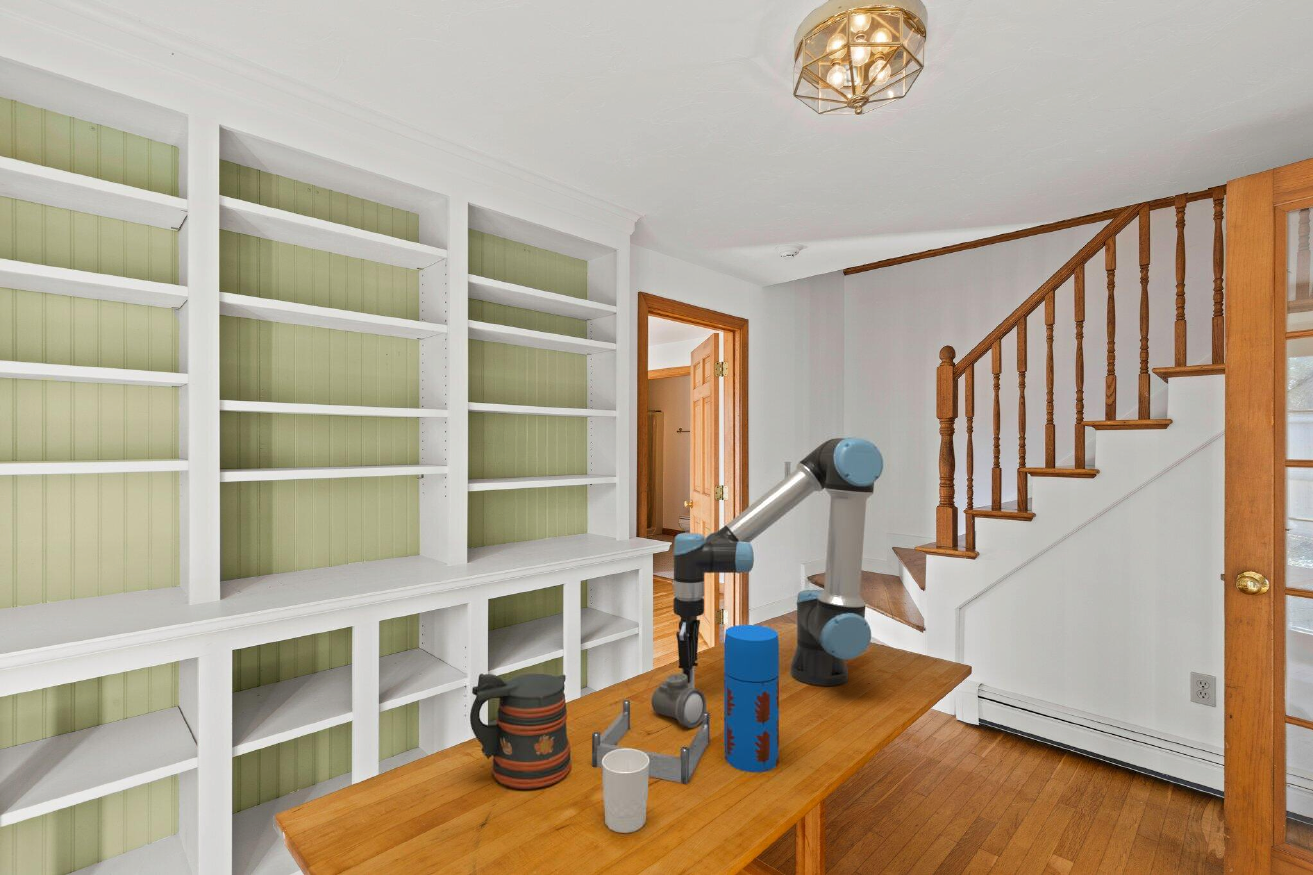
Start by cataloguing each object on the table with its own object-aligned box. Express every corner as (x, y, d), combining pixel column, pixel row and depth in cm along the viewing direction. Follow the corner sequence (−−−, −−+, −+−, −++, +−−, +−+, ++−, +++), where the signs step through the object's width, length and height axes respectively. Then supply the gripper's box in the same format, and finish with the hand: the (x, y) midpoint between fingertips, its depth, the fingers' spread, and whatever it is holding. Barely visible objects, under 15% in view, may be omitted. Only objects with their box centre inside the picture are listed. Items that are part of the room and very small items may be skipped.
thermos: (782, 750, 124) (782, 627, 125) (774, 776, 114) (775, 643, 114) (730, 741, 128) (730, 622, 128) (718, 766, 118) (718, 637, 118)
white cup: (601, 807, 104) (602, 749, 104) (647, 805, 105) (647, 747, 105) (601, 837, 96) (601, 773, 96) (650, 834, 97) (651, 771, 97)
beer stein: (485, 809, 103) (486, 691, 104) (459, 771, 115) (460, 665, 116) (584, 775, 114) (584, 669, 114) (551, 744, 126) (551, 647, 127)
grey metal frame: (624, 726, 134) (624, 699, 134) (710, 740, 128) (710, 712, 128) (590, 765, 118) (590, 734, 118) (687, 784, 111) (687, 751, 111)
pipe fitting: (710, 720, 137) (704, 674, 137) (686, 734, 131) (679, 687, 132) (673, 709, 145) (667, 666, 146) (648, 722, 140) (642, 678, 140)
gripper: (681, 590, 156) (681, 682, 155) (665, 602, 143) (665, 702, 143) (710, 592, 153) (709, 686, 153) (696, 605, 141) (695, 707, 141)
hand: (688, 694), depth 148 cm, fingers closed
